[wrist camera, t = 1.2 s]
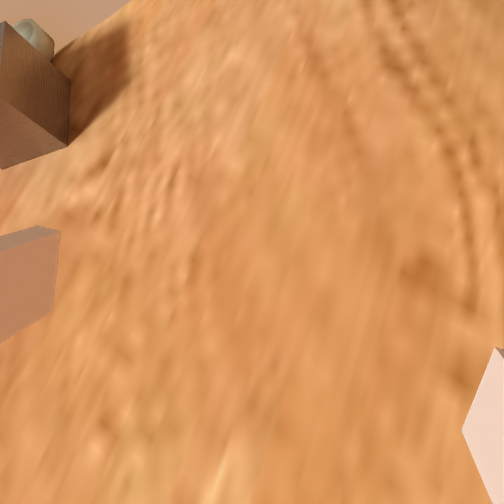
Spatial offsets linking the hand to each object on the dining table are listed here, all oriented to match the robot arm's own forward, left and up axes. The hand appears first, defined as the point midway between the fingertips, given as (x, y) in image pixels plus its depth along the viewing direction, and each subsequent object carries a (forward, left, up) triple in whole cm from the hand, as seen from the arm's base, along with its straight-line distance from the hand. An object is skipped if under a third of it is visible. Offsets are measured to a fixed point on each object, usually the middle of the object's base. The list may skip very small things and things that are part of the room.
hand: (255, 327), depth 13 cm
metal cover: (-21, -45, -24) cm, 55 cm away
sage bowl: (-32, -49, -24) cm, 63 cm away
